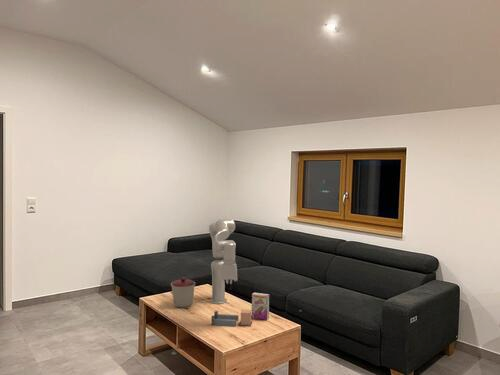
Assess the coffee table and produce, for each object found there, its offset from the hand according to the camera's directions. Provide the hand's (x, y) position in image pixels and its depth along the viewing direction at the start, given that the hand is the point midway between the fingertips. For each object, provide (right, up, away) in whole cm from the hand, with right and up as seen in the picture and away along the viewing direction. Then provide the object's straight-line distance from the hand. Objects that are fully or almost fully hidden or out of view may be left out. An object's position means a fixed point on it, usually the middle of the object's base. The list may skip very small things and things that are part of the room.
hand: (229, 289), depth 255 cm
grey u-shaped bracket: (-3, -22, +1) cm, 22 cm away
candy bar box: (+20, -22, +9) cm, 31 cm away
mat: (+11, -22, -1) cm, 25 cm away
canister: (-36, -21, +33) cm, 53 cm away
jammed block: (+11, -22, -1) cm, 25 cm away
